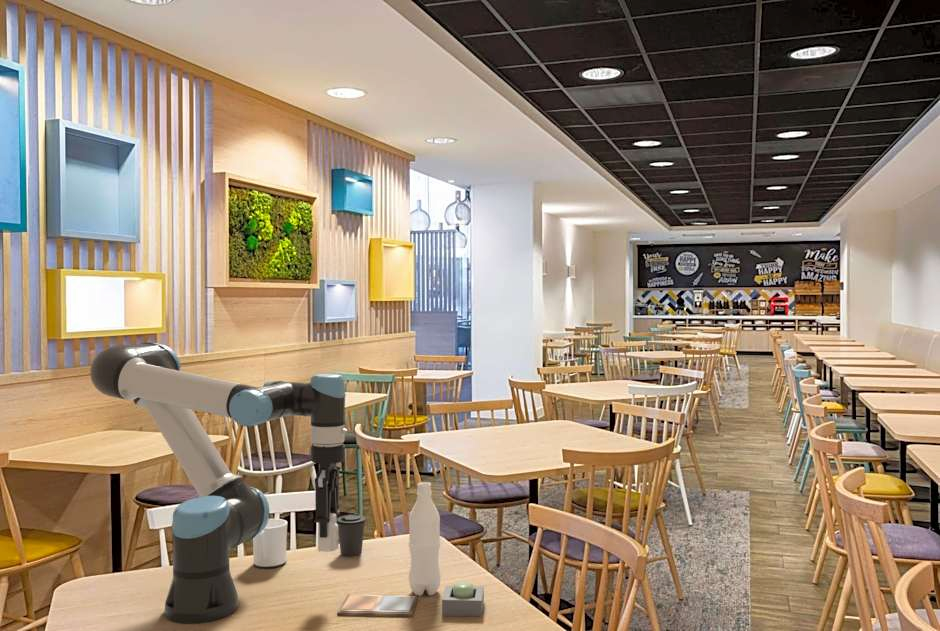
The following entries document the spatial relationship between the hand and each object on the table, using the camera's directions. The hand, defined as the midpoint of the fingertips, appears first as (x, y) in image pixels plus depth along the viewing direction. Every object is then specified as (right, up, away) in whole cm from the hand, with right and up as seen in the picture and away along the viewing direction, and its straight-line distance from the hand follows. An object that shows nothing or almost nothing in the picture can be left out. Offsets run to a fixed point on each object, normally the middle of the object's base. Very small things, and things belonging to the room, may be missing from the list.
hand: (327, 547), depth 184 cm
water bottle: (+22, -12, +4) cm, 25 cm away
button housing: (+31, -12, -6) cm, 33 cm away
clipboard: (+12, -12, -5) cm, 17 cm away
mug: (-19, -11, +24) cm, 32 cm away
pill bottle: (0, -1, 0) cm, 1 cm away
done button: (+31, -9, -6) cm, 33 cm away
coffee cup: (+1, -11, +32) cm, 34 cm away
